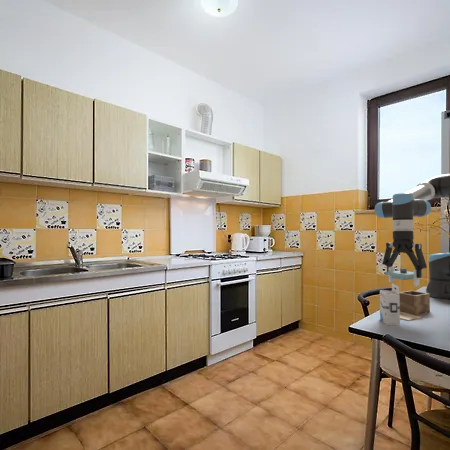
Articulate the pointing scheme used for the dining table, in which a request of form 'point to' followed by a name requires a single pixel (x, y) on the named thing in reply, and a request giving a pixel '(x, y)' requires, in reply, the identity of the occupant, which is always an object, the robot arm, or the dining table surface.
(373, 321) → the dining table surface
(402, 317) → the trivet
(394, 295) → the ink box
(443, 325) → the dining table surface
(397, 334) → the dining table surface
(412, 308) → the box
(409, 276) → the lid
